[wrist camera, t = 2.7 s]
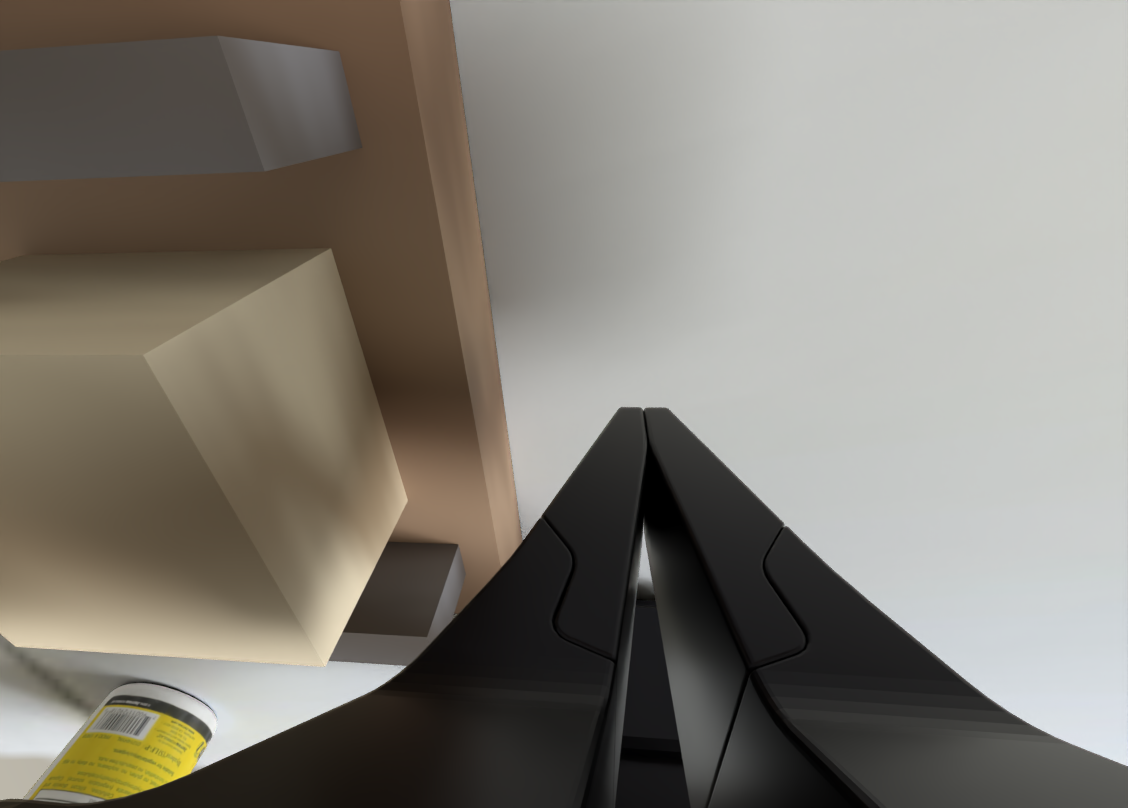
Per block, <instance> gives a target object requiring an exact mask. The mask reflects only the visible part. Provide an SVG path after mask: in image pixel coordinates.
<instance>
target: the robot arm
mask: <svg viewBox="0 0 1128 808" xmlns="http://www.w3.org/2000/svg"><path fill="white" fill-rule="evenodd" d="M643 523H644V534H645V541H646V547H647V553H648V559H649V565H650V571H651V577H652V583H653V588H654V594H655V600H656V601H646V600H636V596H637V587H638V577H639V567H640V557H641V548H642V535H643ZM0 808H1128V766H1125V765H1123V764H1120V763H1118V762H1115V761H1113V760H1110V759H1107V758H1105V757H1102V756H1100V755H1097V754H1095V753H1092V752H1090V751H1087V750H1085V749H1082V748H1080V747H1077V746H1075V745H1072V744H1070V743H1068V742H1065V741H1063V740H1061V739H1058V738H1056V737H1054V736H1052V735H1050V734H1048V733H1046V732H1044V731H1042V730H1040V729H1038V728H1036V727H1034V726H1032V725H1030V724H1028V723H1027V722H1025V721H1023V720H1022V719H1020V718H1018V717H1017V716H1015V715H1013V714H1012V713H1010V712H1008V711H1007V710H1006V709H1004V708H1003V707H1001V706H1000V705H998V704H997V703H995V702H994V701H992V700H991V699H989V698H988V697H987V696H985V695H984V694H983V693H982V692H980V691H979V690H978V689H976V688H975V687H974V686H972V685H971V684H970V683H969V682H967V681H966V680H965V679H964V678H962V677H961V676H960V675H959V674H958V673H956V672H955V671H954V670H953V669H951V668H950V667H949V666H948V665H947V664H945V663H944V662H943V661H942V660H941V659H939V658H938V657H937V656H936V655H934V654H933V653H932V652H931V651H930V650H928V649H927V648H926V647H925V646H924V645H922V644H921V643H920V642H919V641H917V640H916V639H915V638H914V637H913V636H911V635H910V634H909V633H908V632H906V631H905V630H904V629H903V628H902V627H900V626H899V625H898V624H897V623H896V622H894V621H893V620H892V619H891V618H889V617H888V616H887V615H886V614H885V613H883V612H882V611H881V610H880V609H878V608H877V607H876V606H875V605H874V604H872V603H871V602H870V601H869V600H868V599H866V598H865V597H864V596H863V595H862V594H861V593H859V592H858V591H857V590H856V589H855V588H854V587H852V586H851V585H850V584H849V583H848V582H847V581H845V580H844V579H843V578H842V577H841V576H840V575H838V574H837V573H836V572H835V571H834V570H833V569H832V568H831V567H829V566H828V565H827V564H826V563H825V562H824V561H823V560H822V559H821V558H820V557H819V556H818V555H817V554H816V553H815V552H813V551H812V550H811V549H810V548H809V547H808V546H807V545H806V544H805V543H804V542H803V541H802V540H801V539H800V538H799V537H798V536H797V535H796V534H795V533H794V532H793V531H792V530H791V529H790V528H789V527H787V526H785V527H784V523H783V522H782V521H781V520H780V519H779V518H778V517H777V516H776V515H775V514H774V513H773V512H772V511H771V510H770V509H769V508H768V507H767V506H766V505H765V504H764V503H763V502H762V501H761V500H760V499H759V498H758V497H757V496H756V495H755V494H754V493H753V492H752V491H751V490H750V489H749V488H748V487H747V486H746V485H745V484H744V483H743V482H742V481H741V480H740V479H739V478H738V477H737V476H736V475H735V474H734V473H733V472H732V471H731V470H730V469H729V468H728V467H727V466H726V465H725V464H724V463H723V462H722V461H721V460H720V459H719V458H718V457H717V456H716V455H715V454H714V453H713V452H712V451H711V450H710V449H709V448H708V447H706V446H705V445H704V444H703V443H702V442H701V441H700V440H699V439H698V438H697V437H696V436H695V435H694V434H693V433H692V432H691V431H690V430H689V429H688V428H687V427H686V426H685V425H684V424H683V423H682V422H681V421H680V420H679V419H678V418H677V417H676V416H675V415H674V414H673V413H672V412H671V411H670V410H669V409H667V408H645V409H644V411H643V410H642V408H639V407H621V408H619V409H618V410H617V412H616V413H615V414H614V416H613V417H612V419H611V420H610V421H609V423H608V424H607V426H606V427H605V428H604V430H603V431H602V433H601V434H600V435H599V437H598V438H597V439H596V441H595V442H594V444H593V445H592V446H591V448H590V449H589V451H588V452H587V453H586V455H585V456H584V458H583V459H582V460H581V462H580V463H579V464H578V466H577V467H576V469H575V470H574V471H573V473H572V474H571V476H570V477H569V478H568V480H567V481H566V483H565V484H564V485H563V487H562V488H561V489H560V491H559V492H558V494H557V495H556V496H555V498H554V499H553V501H552V502H551V503H550V505H549V506H548V508H547V509H546V510H545V512H544V513H543V514H542V516H541V518H540V519H539V520H538V521H537V522H536V524H535V525H534V527H533V528H532V529H531V531H530V532H529V534H528V535H527V536H526V538H525V539H524V540H523V541H522V543H521V544H520V545H519V547H518V548H517V549H516V550H515V552H514V553H513V554H512V556H511V557H510V558H509V559H508V560H507V561H506V563H505V564H504V565H503V566H502V567H501V568H500V569H499V570H498V572H497V573H496V574H495V575H494V576H493V577H492V578H491V579H490V580H489V582H488V583H487V584H486V585H485V586H484V587H483V588H482V589H481V590H480V591H479V592H478V593H477V594H476V595H475V596H474V598H473V599H472V600H471V601H470V602H469V603H468V604H467V605H466V606H465V607H464V608H463V609H462V610H461V611H460V612H459V613H458V614H457V616H456V617H455V618H454V619H453V620H452V621H451V622H450V623H449V624H448V625H447V626H446V627H445V628H444V629H443V630H442V631H441V632H440V634H439V635H438V636H437V637H436V638H435V639H434V640H433V641H432V642H431V643H430V644H429V645H428V646H427V647H426V648H425V649H424V650H423V651H422V652H421V653H420V654H419V655H418V656H417V657H416V658H415V659H414V660H413V661H412V662H411V663H410V664H409V665H408V666H407V667H405V668H404V669H403V670H402V671H401V672H400V673H398V674H397V675H396V676H394V677H393V678H392V679H390V680H389V681H387V682H386V683H385V684H383V685H381V686H380V687H378V688H377V689H375V690H373V691H371V692H369V693H367V694H365V695H363V696H361V697H359V698H356V699H354V700H352V701H350V702H348V703H345V704H343V705H341V706H339V707H336V708H334V709H332V710H330V711H328V712H325V713H323V714H321V715H319V716H317V717H314V718H312V719H310V720H308V721H306V722H303V723H301V724H299V725H297V726H295V727H292V728H290V729H288V730H286V731H284V732H281V733H279V734H277V735H275V736H273V737H270V738H268V739H266V740H264V741H262V742H259V743H257V744H255V745H253V746H251V747H248V748H246V749H244V750H242V751H240V752H237V753H235V754H233V755H231V756H228V757H226V758H224V759H222V760H220V761H217V762H215V763H213V764H211V765H209V766H206V767H204V768H202V769H200V770H198V771H195V772H193V773H191V774H188V775H186V776H183V777H181V778H178V779H176V780H173V781H171V782H169V783H166V784H164V785H161V786H159V787H155V788H152V789H148V790H145V791H142V792H138V793H135V794H132V795H128V796H125V797H120V798H114V799H109V800H104V801H99V802H93V803H59V802H49V801H39V800H27V799H6V800H0Z"/></svg>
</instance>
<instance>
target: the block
mask: <svg viewBox="0 0 1128 808" xmlns="http://www.w3.org/2000/svg"><path fill="white" fill-rule="evenodd" d="M407 501H408V499H407V496H406V493H405V489H404V486H403V483H402V479H401V476H400V473H399V470H398V466H397V463H396V460H395V456H394V453H393V450H392V447H391V443H390V440H389V437H388V433H387V430H386V427H385V424H384V420H383V417H382V414H381V410H380V407H379V404H378V401H377V397H376V394H375V391H374V387H373V384H372V381H371V378H370V374H369V371H368V368H367V365H366V361H365V358H364V355H363V351H362V348H361V345H360V342H359V338H358V335H357V332H356V328H355V325H354V322H353V319H352V315H351V312H350V309H349V305H348V302H347V299H346V296H345V292H344V289H343V286H342V282H341V279H340V276H339V273H338V269H337V266H336V263H335V259H334V256H333V253H332V250H331V248H309V249H265V250H222V251H179V252H136V253H92V254H49V255H22V256H18V257H15V258H11V259H8V260H4V261H1V262H0V634H1V635H2V636H4V637H5V638H6V639H7V640H8V641H9V642H11V643H12V644H13V645H14V646H15V647H28V648H43V649H58V650H74V651H89V652H104V653H120V654H135V655H150V656H166V657H181V658H196V659H212V660H227V661H242V662H258V663H273V664H288V665H304V666H319V667H325V666H326V664H327V662H328V660H329V658H330V656H331V654H332V652H333V650H334V648H335V646H336V644H337V642H338V640H339V638H340V636H341V634H342V632H343V630H344V628H345V626H346V624H347V622H348V620H349V618H350V616H351V614H352V612H353V610H354V608H355V606H356V604H357V602H358V600H359V598H360V596H361V594H362V592H363V590H364V588H365V586H366V584H367V582H368V580H369V578H370V576H371V574H372V572H373V570H374V568H375V566H376V564H377V562H378V560H379V558H380V556H381V554H382V552H383V550H384V548H385V546H386V544H387V542H388V540H389V538H390V536H391V534H392V532H393V530H394V528H395V526H396V524H397V522H398V520H399V518H400V515H401V513H402V511H403V509H404V507H405V505H406V503H407Z"/></svg>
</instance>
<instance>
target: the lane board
mask: <svg viewBox="0 0 1128 808" xmlns="http://www.w3.org/2000/svg"><path fill="white" fill-rule="evenodd" d="M309 248H331V250H332V253H333V256H334V259H335V263H336V266H337V269H338V273H339V276H340V279H341V282H342V286H343V289H344V292H345V296H346V299H347V302H348V305H349V309H350V312H351V315H352V319H353V322H354V325H355V328H356V332H357V335H358V338H359V342H360V345H361V348H362V351H363V355H364V358H365V361H366V365H367V368H368V371H369V374H370V378H371V381H372V384H373V387H374V391H375V394H376V397H377V401H378V404H379V407H380V410H381V414H382V417H383V420H384V424H385V427H386V430H387V433H388V437H389V440H390V443H391V447H392V450H393V453H394V456H395V460H396V463H397V466H398V470H399V473H400V476H401V479H402V483H403V486H404V489H405V493H406V496H407V499H408V501H407V503H406V505H405V507H404V509H403V511H402V513H401V515H400V518H399V520H398V522H397V524H396V526H395V528H394V530H393V532H392V534H391V536H390V538H389V540H388V542H387V544H386V546H385V548H384V550H383V552H382V554H381V556H380V558H379V560H378V562H377V564H376V566H375V568H374V570H373V572H372V574H371V576H370V578H369V580H368V582H367V584H366V586H365V588H364V590H363V592H362V594H361V596H360V598H359V600H358V602H357V604H356V606H355V608H354V610H353V612H352V614H351V616H350V618H349V620H348V622H347V624H346V626H345V628H344V630H343V632H342V634H341V636H340V638H339V640H338V642H337V644H336V646H335V648H334V650H333V652H332V654H331V656H330V658H329V660H328V661H341V662H357V663H373V664H388V665H404V666H408V665H409V664H410V663H411V662H412V661H413V660H414V659H415V658H416V657H417V656H418V655H419V654H420V653H421V652H422V651H423V650H424V649H425V648H426V647H427V646H428V645H429V644H430V643H431V642H432V641H433V640H434V639H435V638H436V637H437V636H438V635H439V634H440V632H441V631H442V630H443V629H444V628H445V627H446V626H447V625H448V624H449V623H450V622H451V621H452V619H453V616H454V613H455V614H458V613H459V612H460V611H461V610H462V609H463V608H464V607H465V606H466V605H467V604H468V603H469V602H470V601H471V600H472V599H473V598H474V596H475V595H476V594H477V593H478V592H479V591H480V590H481V589H482V588H483V587H484V586H485V585H486V584H487V583H488V582H489V580H490V579H491V578H492V577H493V576H494V575H495V574H496V573H497V572H498V570H499V569H500V568H501V567H502V566H503V565H504V564H505V563H506V561H507V560H508V559H509V558H510V557H511V556H512V554H513V553H514V552H515V550H516V549H517V548H518V547H519V545H520V544H521V543H522V535H521V527H520V520H519V512H518V505H517V498H516V490H515V483H514V476H513V468H512V461H511V453H510V446H509V438H508V431H507V424H506V416H505V409H504V402H503V394H502V387H501V379H500V372H499V365H498V357H497V350H496V342H495V335H494V328H493V320H492V313H491V305H490V298H489V291H488V283H487V276H486V268H485V261H484V254H483V246H482V239H481V231H480V224H479V217H478V209H477V202H476V194H475V187H474V180H473V172H472V165H471V157H470V150H469V143H468V135H467V128H466V120H465V113H464V106H463V98H462V91H461V83H460V76H459V69H458V61H457V54H456V46H455V39H454V32H453V24H452V17H451V9H450V2H449V0H0V262H1V261H4V260H8V259H11V258H15V257H18V256H22V255H49V254H92V253H136V252H179V251H222V250H265V249H309ZM3 637H4V636H3Z"/></svg>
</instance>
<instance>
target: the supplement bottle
mask: <svg viewBox="0 0 1128 808" xmlns="http://www.w3.org/2000/svg"><path fill="white" fill-rule="evenodd" d="M216 728H217V718H216V716H215V714H214V712H213V711H212V710H211V709H210V708H209V707H208V706H206V705H205V704H203V703H202V702H200V701H199V700H197V699H195V698H193V697H191V696H189V695H187V694H184V693H182V692H179V691H177V690H174V689H171V688H168V687H164V686H160V685H155V684H148V683H132V684H126V685H123V686H120V687H118V688H116V689H114V690H113V691H112V692H111V693H110V694H109V695H108V696H107V697H106V698H105V699H104V701H103V702H102V703H101V704H100V705H99V706H98V708H97V709H96V710H95V711H94V712H93V713H92V715H91V716H90V717H89V718H88V720H87V721H86V722H85V723H84V725H83V726H82V727H81V728H80V730H79V731H78V732H77V733H76V734H75V736H74V737H73V738H72V739H71V740H70V742H69V743H68V744H67V745H66V747H65V748H64V749H63V750H62V752H61V753H60V754H59V755H58V756H57V758H56V759H55V760H54V761H53V762H52V764H51V765H50V766H49V767H48V769H47V770H46V771H45V772H44V774H43V775H42V776H41V777H40V778H39V780H38V781H37V782H36V783H35V784H34V786H33V787H32V788H31V790H30V791H29V792H28V793H27V794H26V796H25V797H24V798H23V799H27V800H39V801H49V802H59V803H93V802H99V801H104V800H109V799H114V798H120V797H125V796H128V795H132V794H135V793H138V792H142V791H145V790H148V789H152V788H155V787H159V786H161V785H164V784H166V783H169V782H171V781H173V780H176V779H178V778H181V777H183V776H186V775H188V774H190V773H191V771H192V770H193V768H194V766H195V765H196V763H197V761H198V760H199V758H200V757H201V755H202V753H203V752H204V750H205V748H206V747H207V745H208V743H209V741H210V740H211V738H212V736H213V735H214V733H215V731H216Z"/></svg>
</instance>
